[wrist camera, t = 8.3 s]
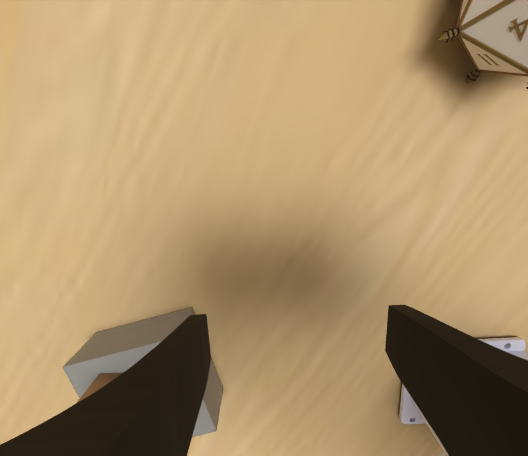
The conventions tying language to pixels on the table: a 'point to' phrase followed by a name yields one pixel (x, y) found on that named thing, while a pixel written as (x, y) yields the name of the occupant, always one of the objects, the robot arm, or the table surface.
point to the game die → (493, 35)
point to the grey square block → (131, 351)
